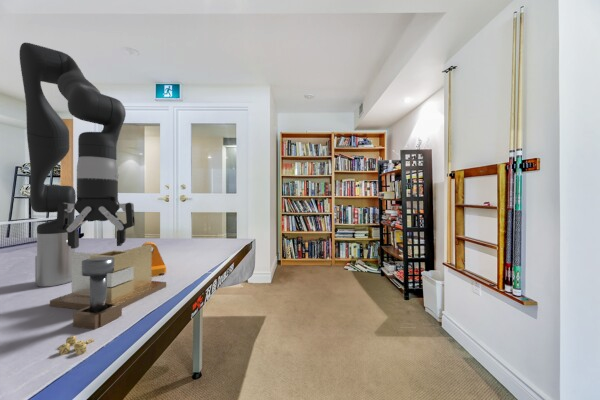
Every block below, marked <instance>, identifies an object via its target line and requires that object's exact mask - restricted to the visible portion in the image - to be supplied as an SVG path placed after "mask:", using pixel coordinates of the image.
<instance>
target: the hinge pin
mask: <svg viewBox="0 0 600 400" xmlns="http://www.w3.org/2000/svg"><path fill="white" fill-rule="evenodd" d="M113 271H114V257H97V258H91V259H86V260H83V261H82V276H90V313H99V312H101V311H103V310H105V309H107V274H108V273H111V272H113Z"/></svg>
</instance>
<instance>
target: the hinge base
mask: <svg viewBox="0 0 600 400" xmlns="http://www.w3.org/2000/svg"><path fill="white" fill-rule="evenodd" d="M152 250H153V247H152V245H145V246H142V245H141V246H138V247H134V248H133V247H132V248H129V249H125V250H124V249H123V250H109V251H105V252H101V253H99V254H96V255H91V256H90V259H91V258H97V257H114V271H117V270H120V269H124V268H127V267H130V266H134V279H132V280H129V281H127V282H124V283H121V284H119V285H116V286H113V287H107V309H105V310H103V311H101V312H99V313H90V294H81V293H72V292H71V293H70V292H69V293H68V294H65V295H62V296H59V297H56V298H53V299H49V306H50V307H55V308H57V307H58V308H64V309H65V308H67V309H72V310H73V309H74V310H76V311H75V312H73V314H72V327H76V328H83V329H91V330H96V329H98V328H101V327H103V326H105V325H107V324H110V323H112V322H113V321H115V320H117V319H119V318H120V317H122V314H123V313H122V312H123V308H125V307H127V306H130V305H132V304H133V303H135V302H138V301H139V300H142V299H144V298H146V297H148V296H150V295H152V294H154V293H156V292H158V291H160V290H162V289H164V288H167V282H166V281H158V280H152V277H151V270H152ZM114 271H113V272H114Z"/></svg>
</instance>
